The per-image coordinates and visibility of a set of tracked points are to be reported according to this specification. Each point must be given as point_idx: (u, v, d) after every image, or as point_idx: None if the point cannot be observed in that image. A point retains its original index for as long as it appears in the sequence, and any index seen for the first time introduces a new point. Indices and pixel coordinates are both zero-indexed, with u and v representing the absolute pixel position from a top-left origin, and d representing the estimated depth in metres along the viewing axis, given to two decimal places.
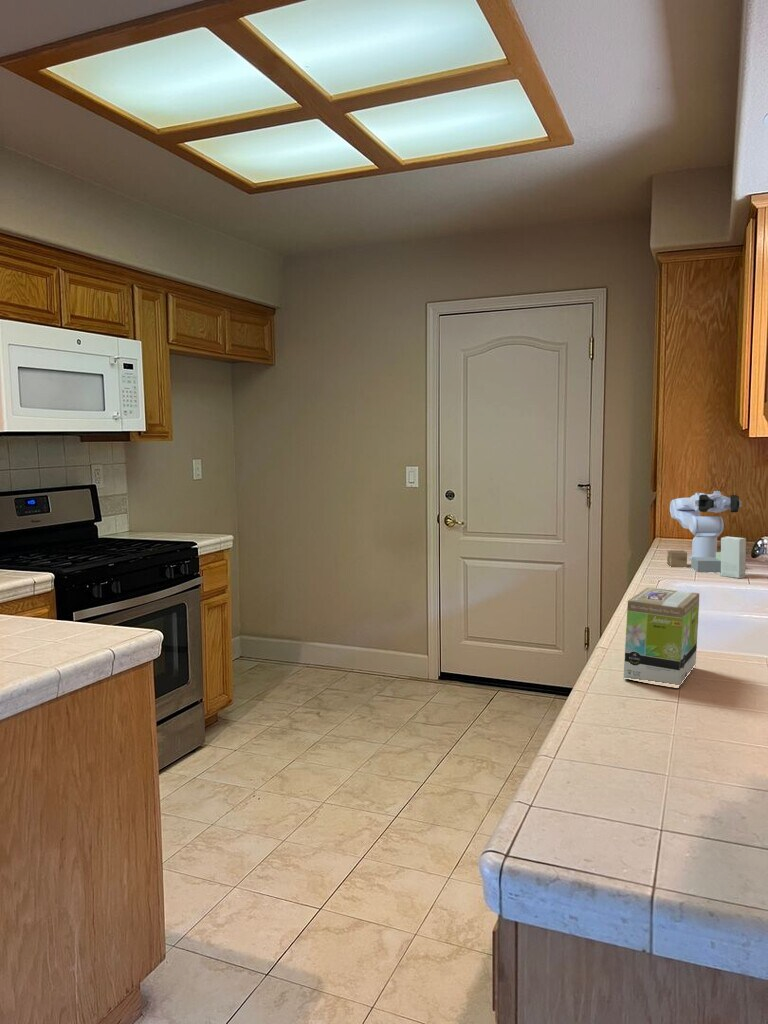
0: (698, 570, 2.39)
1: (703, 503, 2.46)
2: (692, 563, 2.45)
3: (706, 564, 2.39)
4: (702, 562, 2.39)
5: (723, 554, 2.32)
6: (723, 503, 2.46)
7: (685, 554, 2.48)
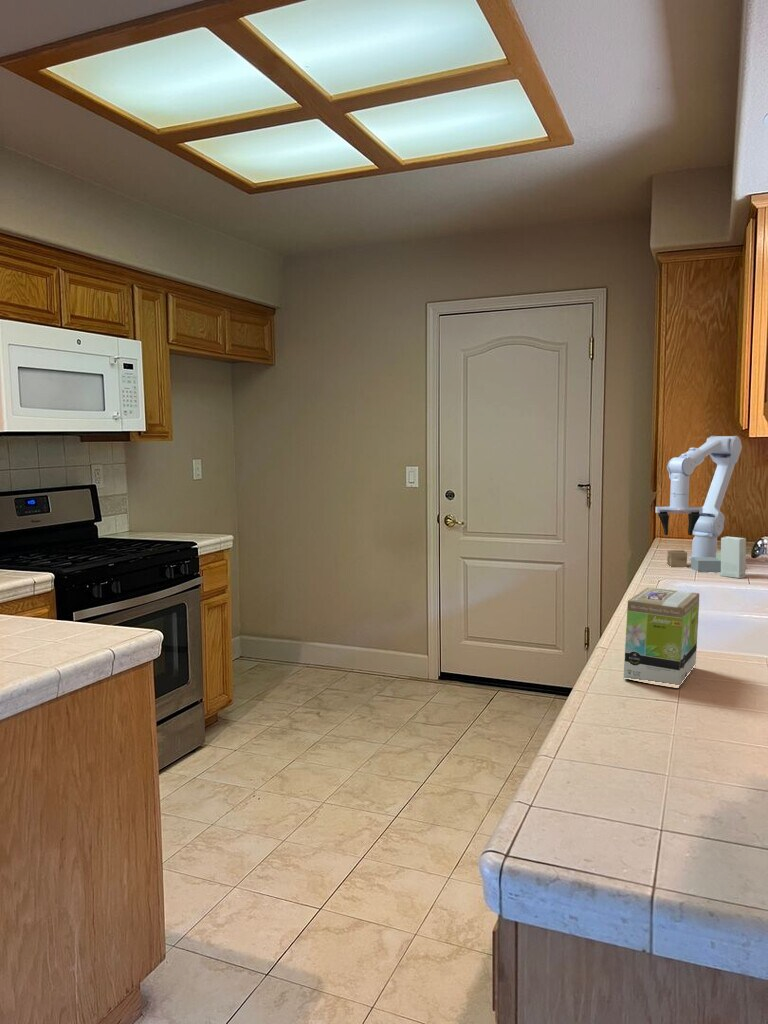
0: (699, 570, 2.39)
1: None
2: (692, 563, 2.45)
3: (707, 564, 2.39)
4: (703, 562, 2.39)
5: (723, 554, 2.32)
6: (684, 512, 2.49)
7: (685, 554, 2.48)
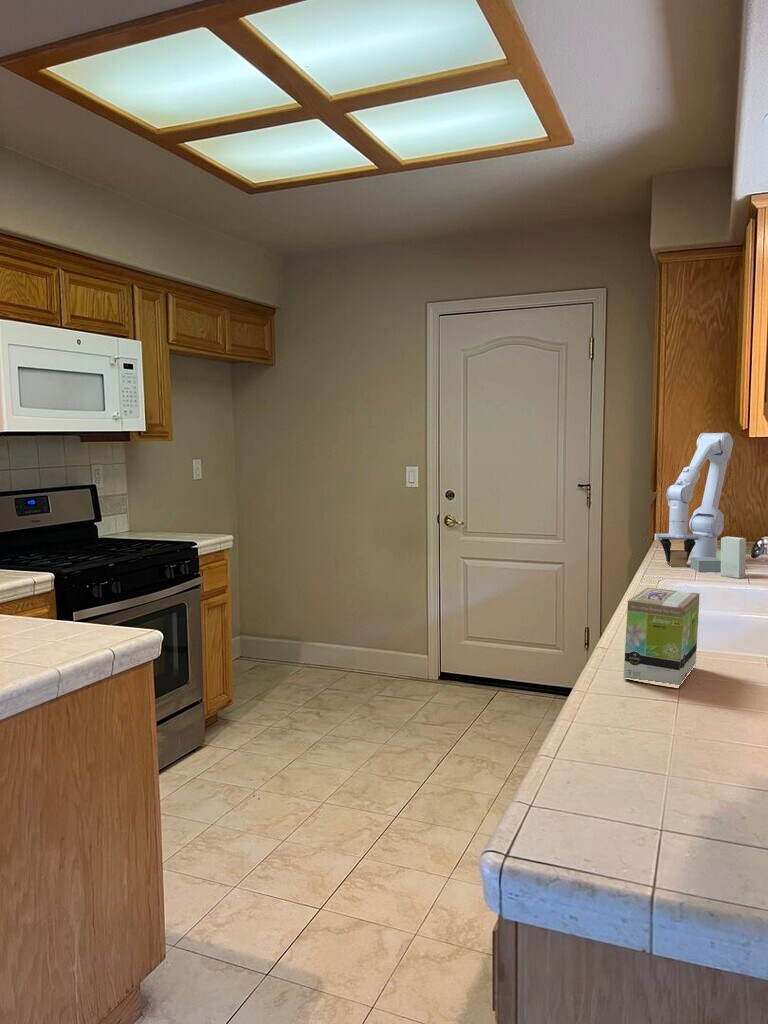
0: (699, 570, 2.39)
1: None
2: (692, 563, 2.45)
3: (707, 564, 2.39)
4: (703, 562, 2.39)
5: (723, 554, 2.32)
6: (682, 539, 2.50)
7: (685, 554, 2.48)
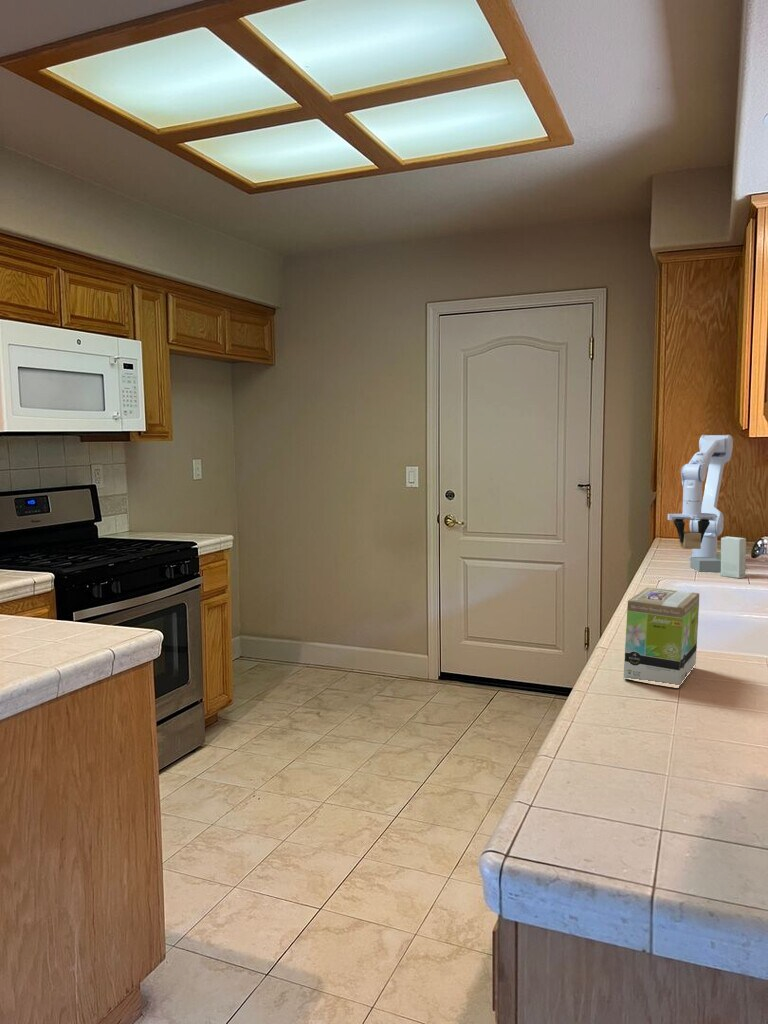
0: (700, 570, 2.39)
1: None
2: (692, 563, 2.44)
3: (708, 564, 2.39)
4: (704, 562, 2.39)
5: (723, 554, 2.32)
6: (696, 520, 2.45)
7: (699, 535, 2.43)
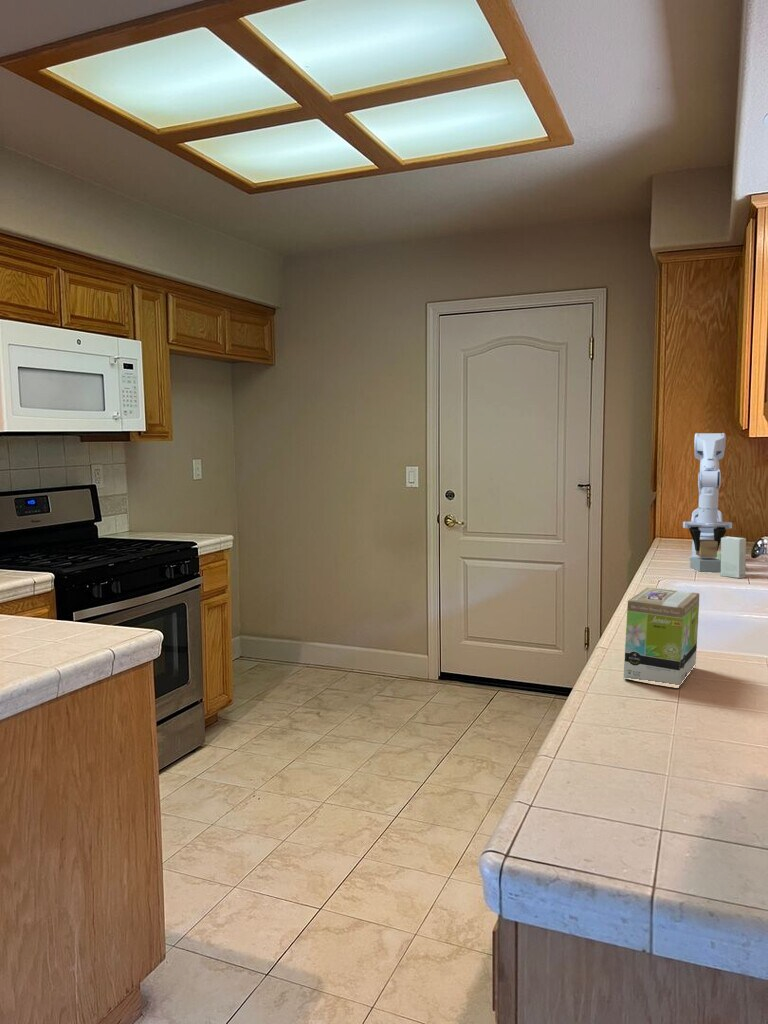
0: (700, 570, 2.39)
1: None
2: (692, 563, 2.44)
3: (708, 564, 2.39)
4: (704, 562, 2.39)
5: (723, 554, 2.32)
6: (712, 528, 2.41)
7: (715, 543, 2.39)
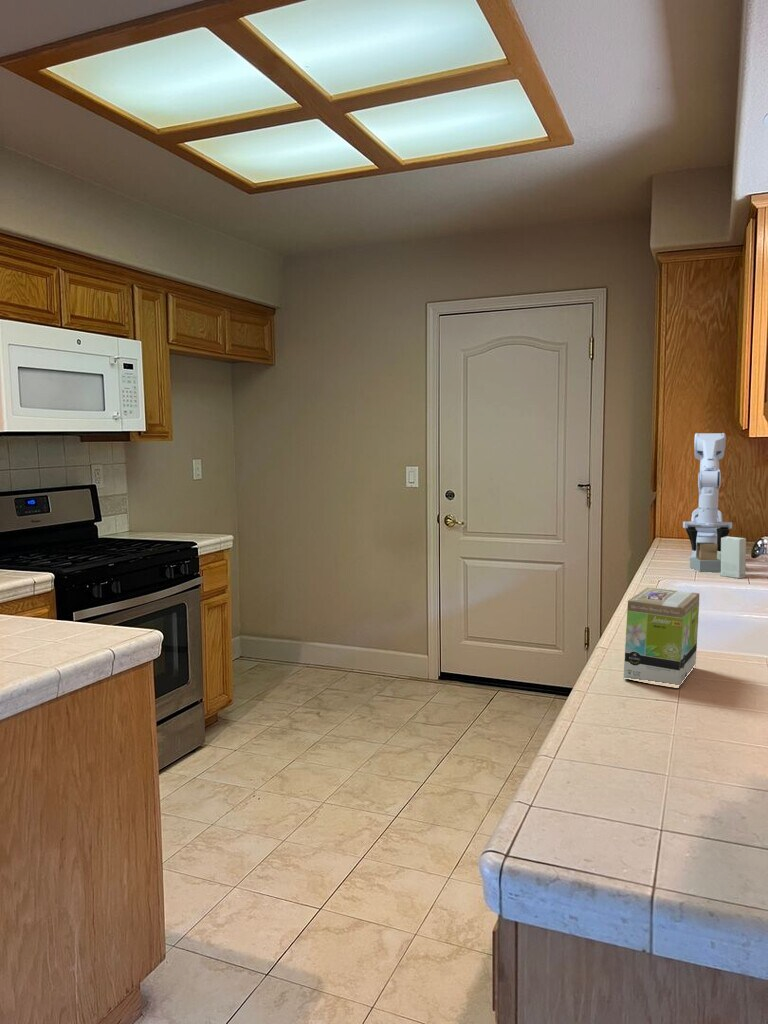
0: (700, 570, 2.39)
1: None
2: (692, 563, 2.44)
3: (708, 564, 2.39)
4: (704, 562, 2.39)
5: (723, 554, 2.32)
6: (712, 528, 2.41)
7: (715, 546, 2.39)
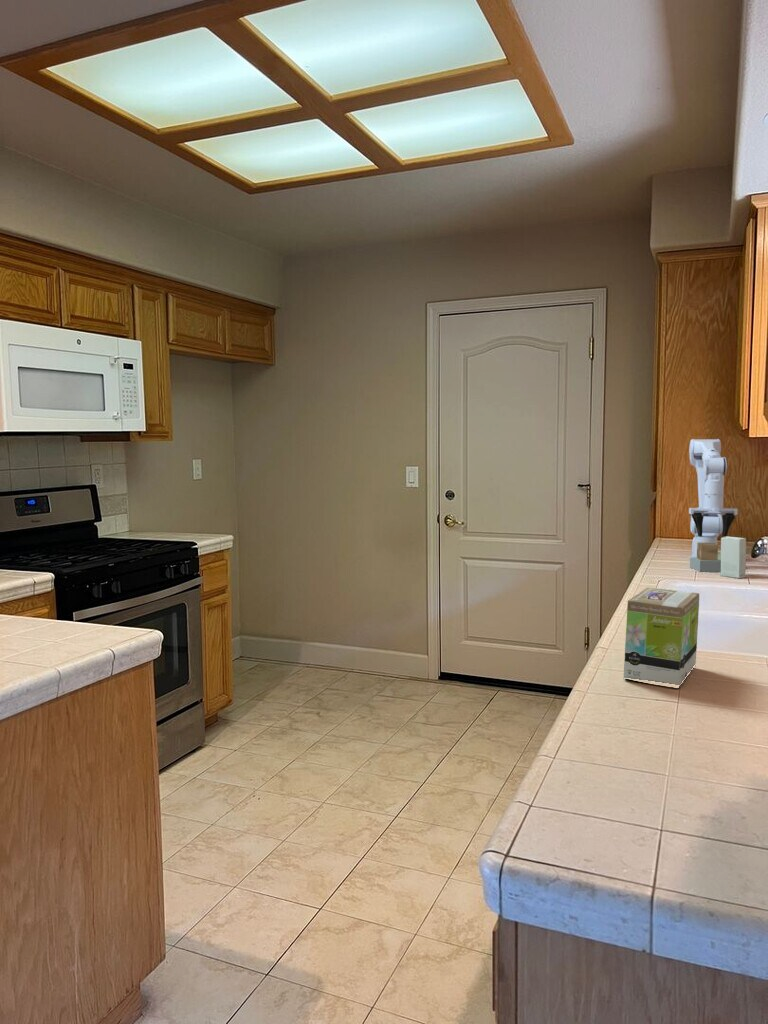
0: (700, 570, 2.39)
1: None
2: (691, 563, 2.44)
3: (708, 564, 2.39)
4: (704, 562, 2.39)
5: (723, 554, 2.32)
6: (718, 514, 2.44)
7: (716, 546, 2.39)
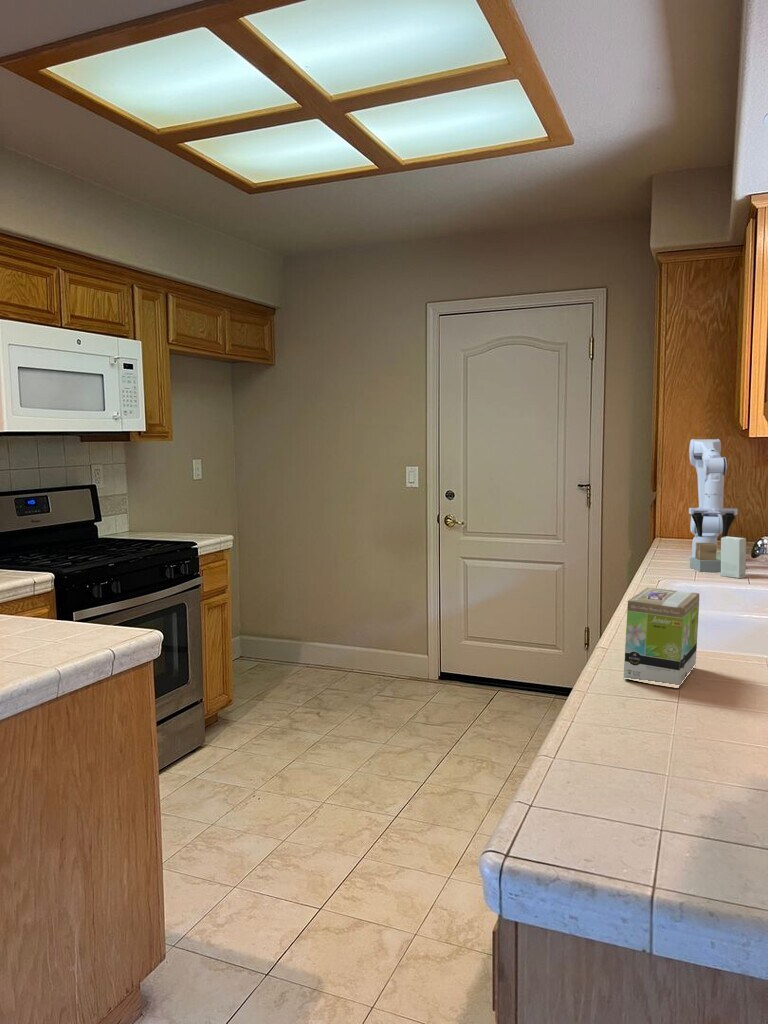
0: (700, 570, 2.39)
1: None
2: (691, 563, 2.44)
3: (708, 565, 2.39)
4: (704, 562, 2.39)
5: (723, 554, 2.32)
6: (718, 514, 2.44)
7: (714, 546, 2.39)
